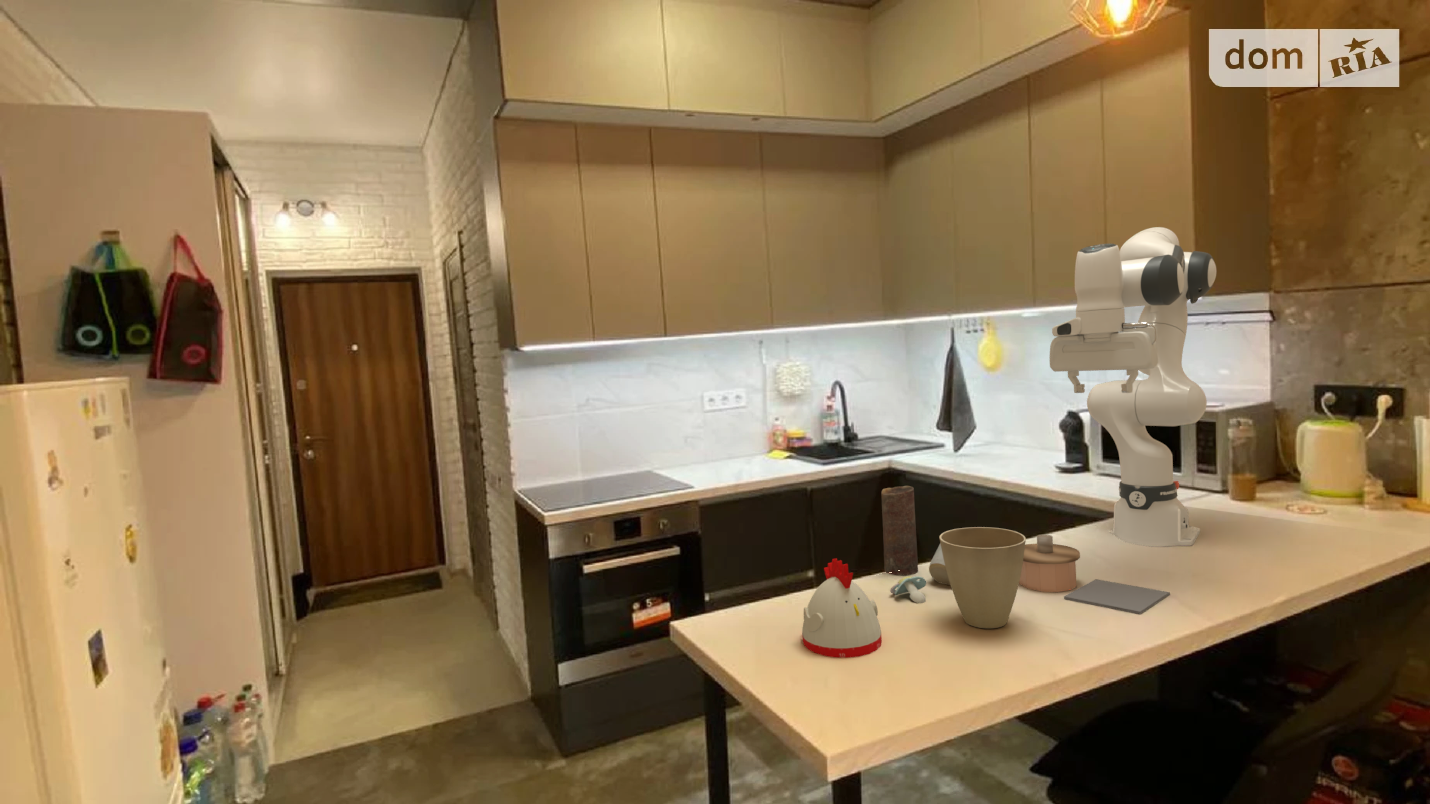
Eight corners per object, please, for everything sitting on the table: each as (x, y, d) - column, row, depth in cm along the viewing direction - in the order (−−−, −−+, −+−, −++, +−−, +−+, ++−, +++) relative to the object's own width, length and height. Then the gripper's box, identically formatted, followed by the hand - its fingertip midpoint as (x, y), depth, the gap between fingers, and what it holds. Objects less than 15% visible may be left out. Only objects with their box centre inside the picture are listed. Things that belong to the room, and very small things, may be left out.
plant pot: (929, 627, 141) (925, 541, 140) (963, 603, 152) (959, 524, 151) (1011, 643, 131) (1007, 551, 130) (1041, 616, 142) (1037, 531, 141)
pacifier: (911, 587, 162) (923, 570, 158) (927, 612, 158) (940, 595, 154) (883, 593, 158) (894, 576, 155) (899, 619, 154) (911, 602, 151)
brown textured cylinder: (919, 580, 169) (914, 490, 167) (885, 581, 170) (880, 491, 169) (917, 570, 176) (912, 484, 175) (884, 570, 178) (879, 485, 176)
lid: (1031, 547, 170) (1030, 526, 169) (1091, 557, 160) (1090, 534, 159) (1000, 561, 161) (999, 538, 161) (1061, 571, 151) (1060, 547, 151)
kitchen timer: (829, 664, 128) (823, 576, 127) (788, 638, 141) (783, 557, 140) (897, 646, 134) (893, 561, 133) (853, 623, 146) (848, 545, 145)
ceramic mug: (942, 591, 165) (918, 566, 165) (958, 564, 169) (935, 539, 169) (977, 585, 156) (952, 558, 156) (993, 556, 160) (969, 530, 160)
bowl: (1034, 572, 168) (1033, 545, 168) (1085, 581, 160) (1084, 553, 160) (1008, 585, 161) (1007, 557, 161) (1060, 595, 153) (1058, 565, 153)
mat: (1095, 581, 160) (1095, 579, 160) (1169, 594, 149) (1169, 592, 149) (1064, 598, 151) (1064, 596, 151) (1140, 614, 140) (1140, 611, 140)
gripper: (1162, 320, 150) (1164, 391, 151) (1058, 327, 166) (1061, 391, 167) (1149, 321, 146) (1151, 394, 147) (1044, 328, 162) (1047, 394, 163)
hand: (1102, 392), depth 157 cm, fingers open, 8 cm apart
